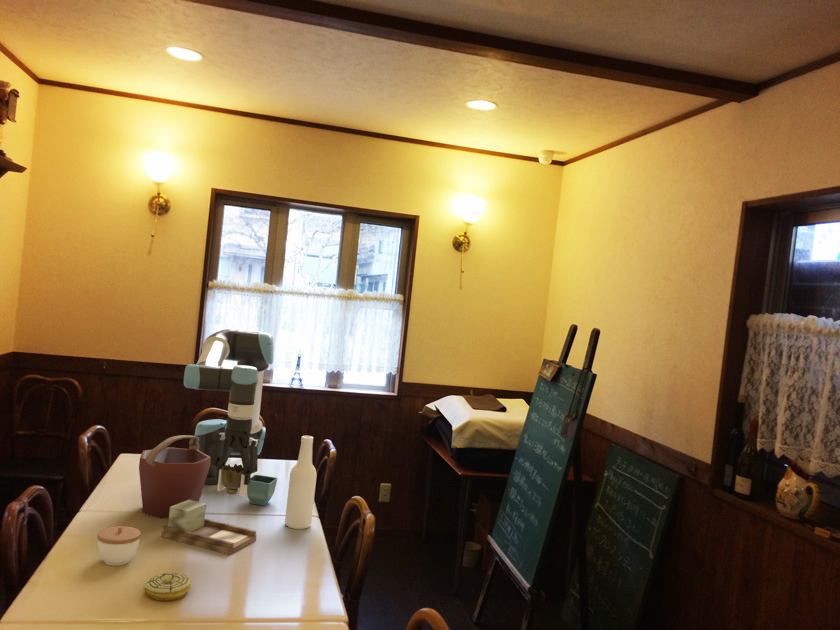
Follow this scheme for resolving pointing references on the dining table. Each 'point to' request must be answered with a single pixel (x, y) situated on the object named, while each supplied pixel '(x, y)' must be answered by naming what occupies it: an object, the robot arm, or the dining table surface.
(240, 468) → the cup
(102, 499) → the dining table surface
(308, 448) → the alcohol
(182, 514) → the brown wooden tray
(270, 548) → the dining table surface
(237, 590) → the dining table surface
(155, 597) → the decorated donut
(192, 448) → the bucket
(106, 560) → the lidded jar
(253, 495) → the flower pot
